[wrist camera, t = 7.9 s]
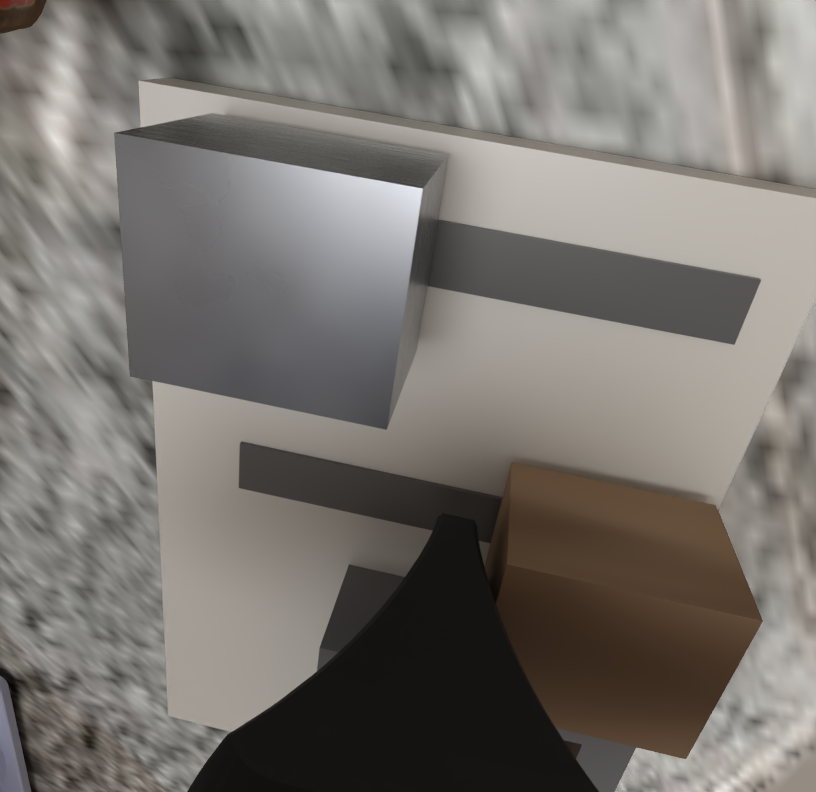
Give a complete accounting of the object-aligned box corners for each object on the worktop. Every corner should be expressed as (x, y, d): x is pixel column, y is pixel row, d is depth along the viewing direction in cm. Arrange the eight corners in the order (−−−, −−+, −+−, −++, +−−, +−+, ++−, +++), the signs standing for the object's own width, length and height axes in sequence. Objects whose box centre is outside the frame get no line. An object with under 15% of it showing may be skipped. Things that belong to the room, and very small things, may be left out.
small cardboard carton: (658, 631, 15) (685, 759, 12) (477, 590, 15) (466, 706, 12) (715, 504, 13) (762, 621, 10) (511, 462, 13) (507, 564, 11)
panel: (574, 776, 20) (583, 919, 16) (186, 682, 21) (122, 800, 17) (828, 191, 12) (944, 246, 8) (171, 77, 13) (46, 87, 9)
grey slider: (417, 349, 12) (386, 429, 10) (212, 308, 13) (130, 376, 10) (448, 154, 11) (423, 188, 8) (213, 113, 11) (114, 133, 8)
